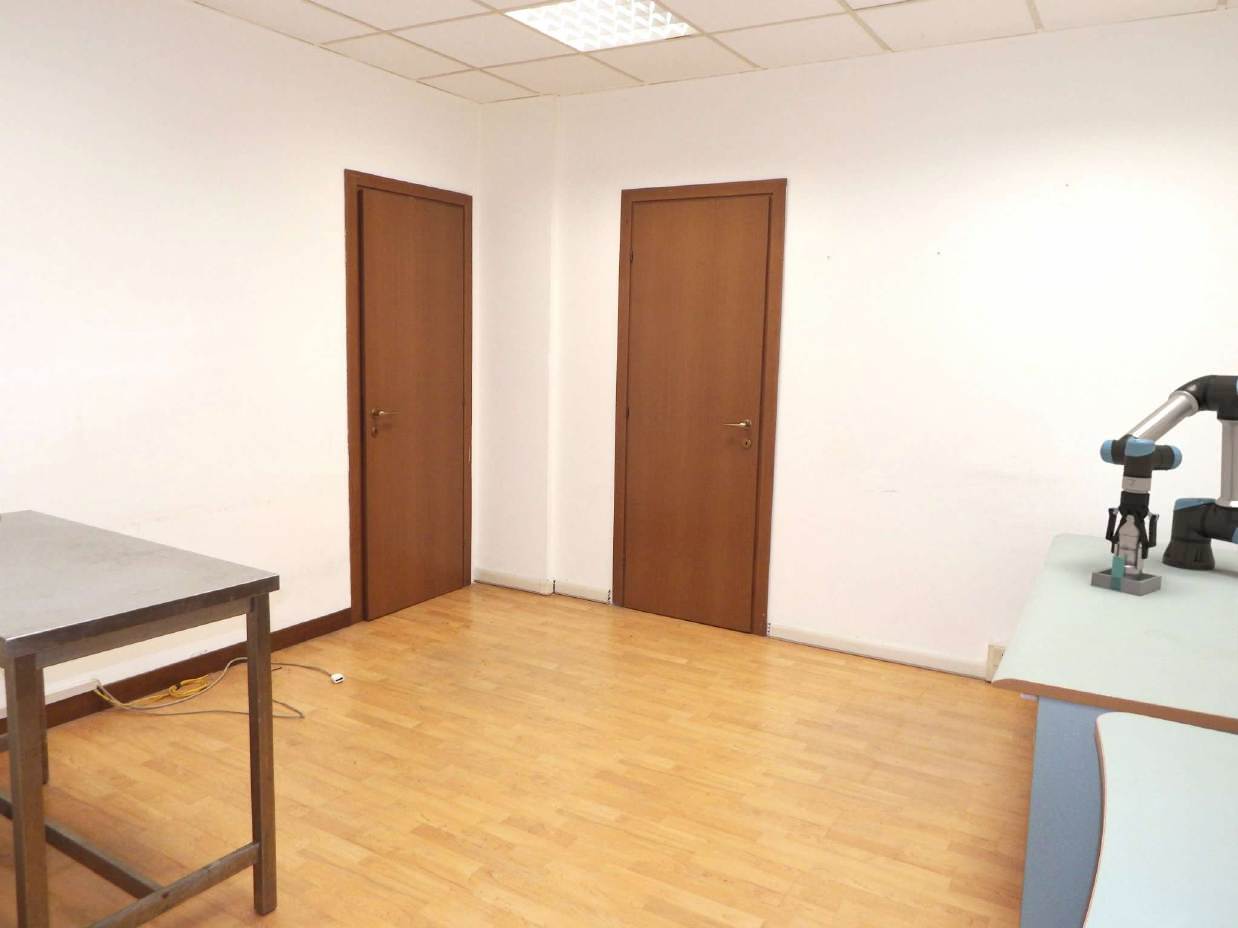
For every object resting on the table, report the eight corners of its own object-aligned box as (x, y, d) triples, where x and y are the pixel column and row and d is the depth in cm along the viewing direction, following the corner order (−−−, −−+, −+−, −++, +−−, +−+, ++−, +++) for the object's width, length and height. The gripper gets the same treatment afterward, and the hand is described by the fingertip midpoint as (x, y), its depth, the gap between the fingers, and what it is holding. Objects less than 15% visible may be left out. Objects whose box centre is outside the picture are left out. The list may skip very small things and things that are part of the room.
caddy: (1111, 579, 283) (1115, 547, 282) (1160, 589, 273) (1163, 556, 271) (1090, 585, 275) (1094, 552, 274) (1139, 595, 264) (1143, 562, 263)
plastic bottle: (1142, 582, 270) (1149, 516, 267) (1117, 581, 271) (1124, 515, 268) (1134, 577, 276) (1141, 513, 273) (1110, 576, 277) (1116, 511, 275)
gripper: (1096, 487, 275) (1089, 561, 278) (1165, 496, 260) (1156, 575, 263) (1108, 485, 280) (1100, 559, 283) (1175, 494, 265) (1167, 571, 268)
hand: (1127, 566), depth 273 cm, fingers closed on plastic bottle, 6 cm apart
